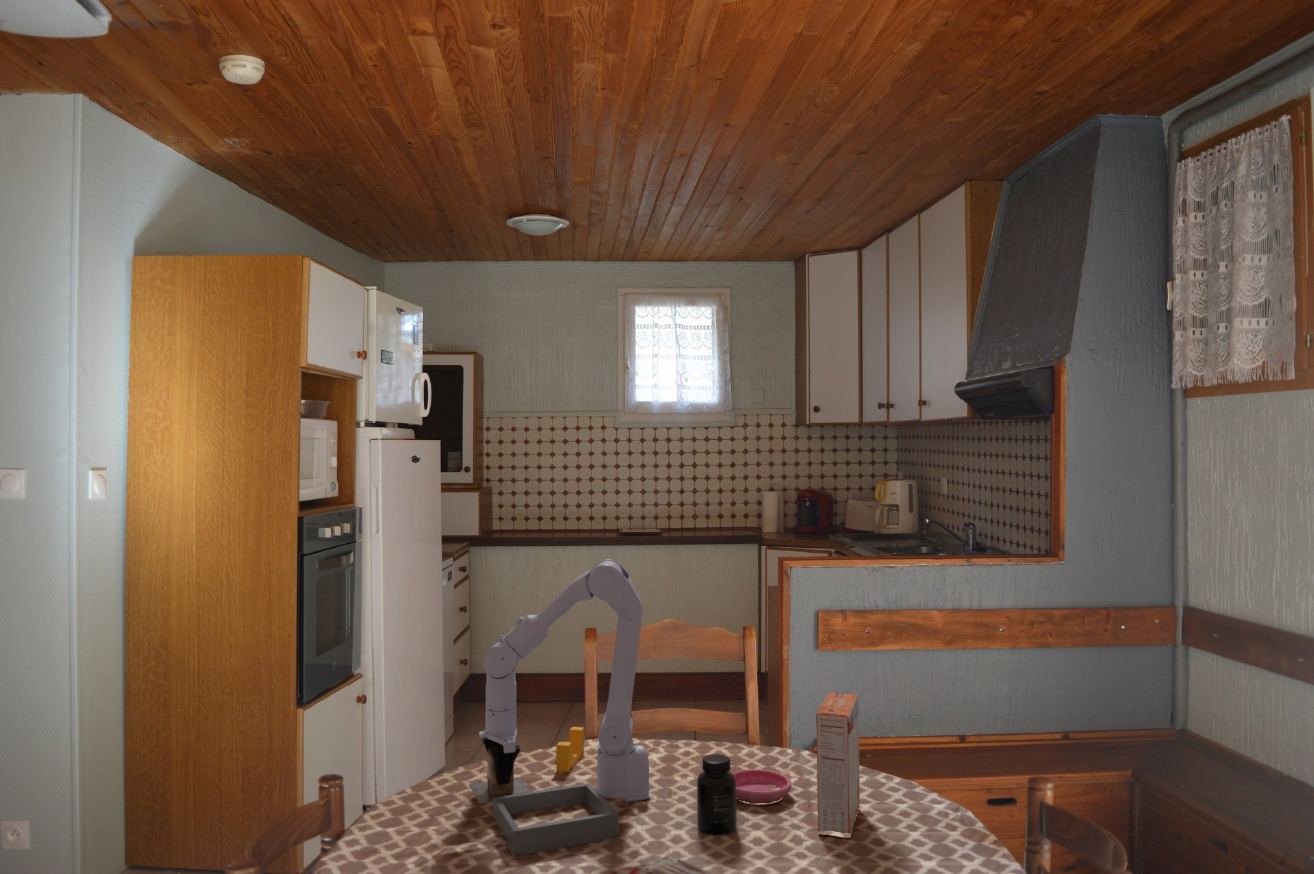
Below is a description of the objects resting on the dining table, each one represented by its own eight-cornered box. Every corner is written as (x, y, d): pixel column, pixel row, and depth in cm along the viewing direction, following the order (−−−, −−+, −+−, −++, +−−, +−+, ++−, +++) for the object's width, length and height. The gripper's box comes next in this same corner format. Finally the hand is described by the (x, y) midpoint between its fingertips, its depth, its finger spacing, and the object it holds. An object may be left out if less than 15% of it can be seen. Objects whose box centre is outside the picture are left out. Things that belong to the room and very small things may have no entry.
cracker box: (827, 804, 163) (827, 690, 164) (860, 809, 161) (860, 693, 162) (814, 835, 150) (814, 711, 151) (850, 840, 148) (850, 715, 149)
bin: (589, 804, 163) (589, 783, 163) (618, 837, 149) (618, 813, 149) (492, 820, 156) (492, 797, 156) (513, 856, 142) (513, 831, 142)
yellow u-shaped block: (564, 756, 189) (564, 726, 189) (583, 757, 189) (584, 727, 189) (547, 776, 177) (548, 744, 178) (568, 778, 177) (568, 745, 177)
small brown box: (508, 784, 170) (508, 747, 170) (513, 791, 166) (513, 754, 166) (486, 787, 168) (486, 750, 168) (491, 795, 165) (491, 757, 165)
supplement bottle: (740, 823, 155) (740, 754, 155) (731, 839, 149) (731, 767, 149) (703, 817, 157) (703, 749, 158) (691, 833, 151) (692, 762, 151)
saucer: (728, 782, 175) (728, 766, 175) (791, 786, 173) (791, 770, 173) (722, 807, 163) (722, 789, 163) (791, 811, 161) (791, 794, 161)
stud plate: (519, 782, 174) (519, 767, 174) (533, 800, 165) (533, 785, 165) (468, 789, 170) (468, 774, 170) (479, 808, 161) (479, 793, 161)
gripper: (472, 699, 173) (471, 769, 172) (488, 720, 159) (487, 796, 159) (507, 695, 176) (507, 764, 175) (526, 715, 162) (526, 790, 162)
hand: (500, 779), depth 167 cm, fingers closed on small brown box, 4 cm apart
